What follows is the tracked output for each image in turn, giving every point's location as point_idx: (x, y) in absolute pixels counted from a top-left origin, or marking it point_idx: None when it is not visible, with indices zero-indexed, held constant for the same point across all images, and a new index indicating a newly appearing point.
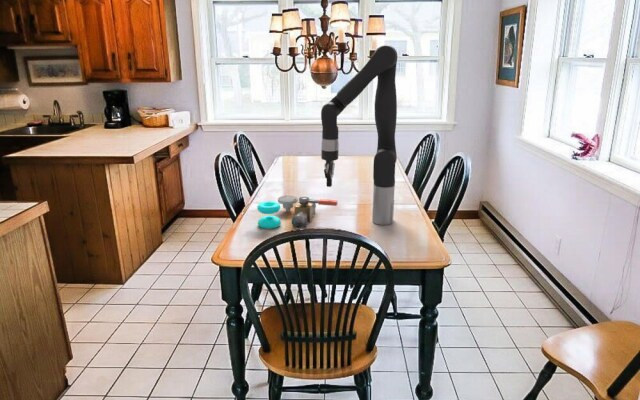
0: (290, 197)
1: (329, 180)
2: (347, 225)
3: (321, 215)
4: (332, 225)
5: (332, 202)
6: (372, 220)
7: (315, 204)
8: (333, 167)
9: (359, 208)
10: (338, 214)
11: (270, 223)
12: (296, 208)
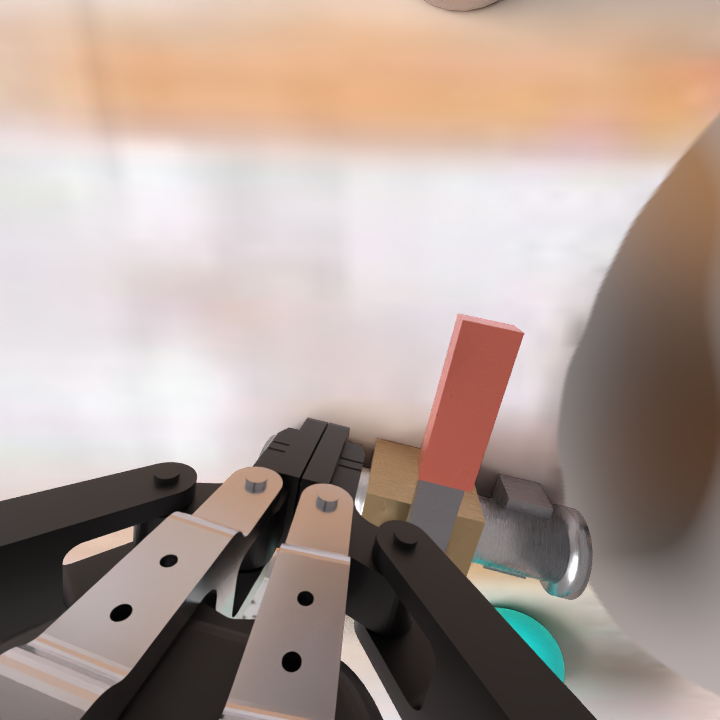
0: (244, 618)
1: (354, 505)
2: (534, 225)
3: (343, 391)
4: (525, 328)
5: (508, 369)
6: (474, 4)
7: (267, 447)
8: (141, 664)
9: (188, 121)
10: (321, 283)
11: (562, 675)
12: None
